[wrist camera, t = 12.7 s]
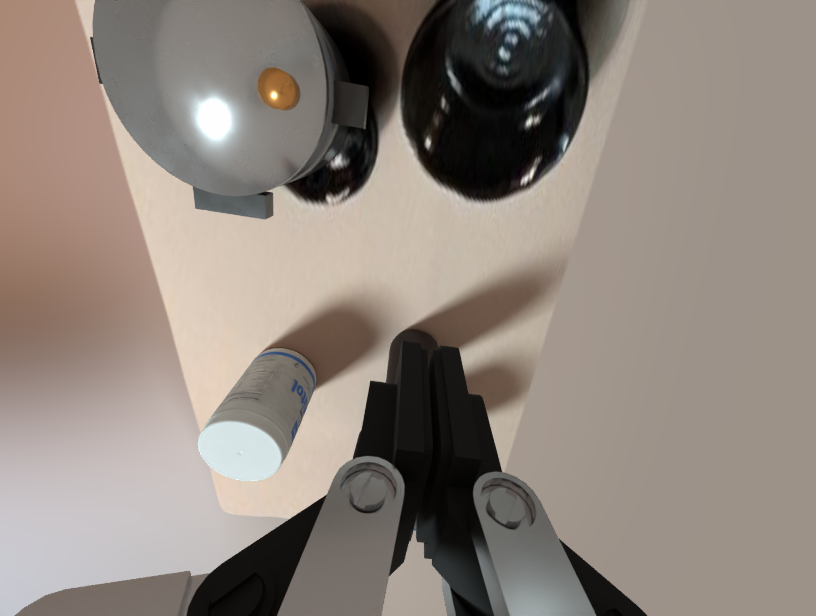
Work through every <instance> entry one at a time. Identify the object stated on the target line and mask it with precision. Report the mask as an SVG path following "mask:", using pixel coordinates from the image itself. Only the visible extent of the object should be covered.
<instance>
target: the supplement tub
mask: <svg viewBox="0 0 816 616" xmlns="http://www.w3.org/2000/svg"><path fill="white" fill-rule="evenodd" d="M315 386H316V373H315V370H314V368H313V366H312V365H311V364H310V362H309V361H308V360H307V359H306V358H305V357H303V356H302V355H301V354H299V353H297V352H295V351H292V350H289V349H284V348H274V349H269V350H266V351H264V352H262V353H261V354H259V355H258V356H257V357H256V358H255V359H254V360H253V362H252V363H251V364H250V366H249V367H248V368H247V370H246V371H245V372H244V374H243V375H242V376H241V378H240V379H239V380H238V382H237V383H236V384H235V386H234V387H233V388H232V390H231V391H230V392H229V394H228V395H227V396H226V398H225V399H224V400H223V402H222V403H221V404H220V406H219V407H218V408H217V410H216V411H215V412H214V414H213V415H212V416H211V418H210V419H209V421H208V422H207V423H206V425H205V427H204V429H203V431H202V432H201V434H200V436H199V439H198V448H199V452H200V454H201V456H202V458H203V459H204V461H205V462H206V463H207V464H208V465H209V466H210V467H211V468H212V469H213V470H215V471H216V472H218V473H220V474H222V475H224V476H226V477H228V478H232V479H235V480H240V481H258V480H263V479H266V478H268V477H270V476H272V475H273V474H275V473H276V472H277V471H278V470H279V468H280V467H281V465H282V463H283V461H284V460H285V458H286V456H287V454H288V452H289V450H290V447H291V445H292V443H293V440H294V438H295V435H296V433H297V431H298V428H299V426H300V423H301V421H302V418H303V416H304V414H305V411H306V409H307V406H308V404H309V401H310V399H311V397H312V394H313V392H314V389H315Z"/></svg>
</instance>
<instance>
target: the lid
mask: <svg viewBox="0 0 816 616" xmlns="http://www.w3.org/2000/svg"><path fill="white" fill-rule="evenodd" d="M93 43H94V50H95V57H96V61H97V65H98V69H99V73H100V77H101V80H102V83H103V85H104V88H105V91H106V94H107V96H108V98H109V100H110V102H111V104H112V106H113V108H114V110H115V112H116V114H117V115H118V117H119V119H120V120H121V122H122V124H123V125H124V127H125V128H126V130H127V131H128V132H129V134H130V135H131V136H132V138H133V139H134V140H135V141H136V143H137V144H138V145H139V146H140V147H141V148H142V149H143V151H144V152H145V153H146V154H147V155H148V156H150V157H151V158H152V159H153V160H154V161H155V162H156V163H157V164H158V165H160V166H161V167H162V168H164V169H165V170H166V171H167V172H169V173H170V174H172V175H173V176H175V177H177V178H178V179H180V180H181V181H183V182H185V183H187V184H189V185H192V186H194V187H196V188H199V189H201V190H204V191H207V192H211V193H215V194H220V195H228V196H248V195H253V194H258V193H262V192H265V191H268V190H270V189H273V188H276V187H278V186H280V185H282V184H284V183H285V182H287V181H289V180H290V179H291V178H293V177H294V176H295V175H297V174H298V173H299V172H300V171H301V170H302V169H303V168H304V167H305V166H306V164H307V163H308V161H309V160H310V159H311V157H312V156H313V154H314V152H315V150H316V149H317V147H318V145H319V143H320V140H321V137H322V135H323V132H324V129H325V124H326V120H327V115H328V105H329V81H328V73H327V66H326V61H325V57H324V53H323V49H322V46H321V43H320V40H319V37H318V34H317V32H316V30H315V27H314V25H313V23H312V21H311V19H310V17H309V15H308V13H307V11H306V10H305V8H304V6H303V5H302V3H301V1H300V0H95V4H94V13H93Z"/></svg>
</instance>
